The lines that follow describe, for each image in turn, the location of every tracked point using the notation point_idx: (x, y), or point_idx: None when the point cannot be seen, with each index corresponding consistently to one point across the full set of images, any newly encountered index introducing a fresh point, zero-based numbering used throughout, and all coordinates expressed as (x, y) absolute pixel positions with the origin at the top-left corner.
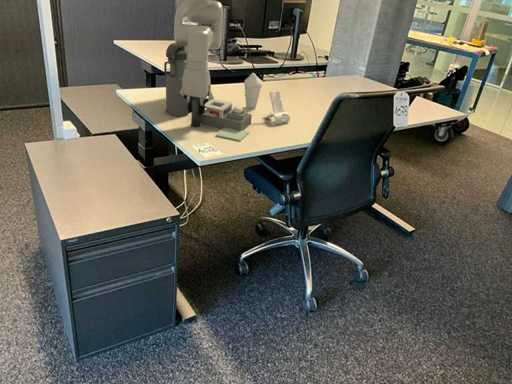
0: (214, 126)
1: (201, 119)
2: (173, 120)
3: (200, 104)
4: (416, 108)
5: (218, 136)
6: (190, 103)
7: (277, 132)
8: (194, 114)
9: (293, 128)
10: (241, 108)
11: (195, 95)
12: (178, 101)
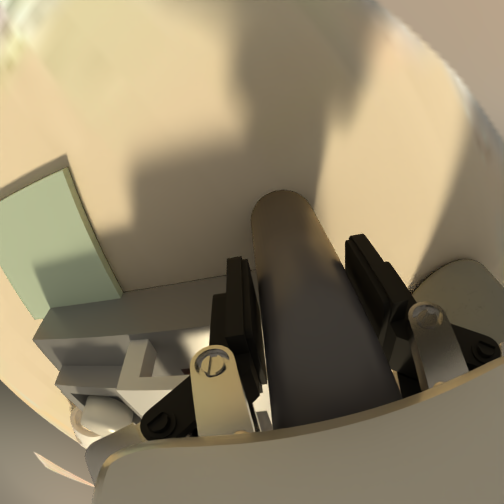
0: (180, 285)
1: None
2: (434, 207)
3: (246, 356)
4: (78, 477)
5: (52, 174)
6: (384, 314)
7: (24, 364)
8: (290, 241)
9: (43, 399)
10: (91, 429)
11: (314, 457)
12: (475, 329)
